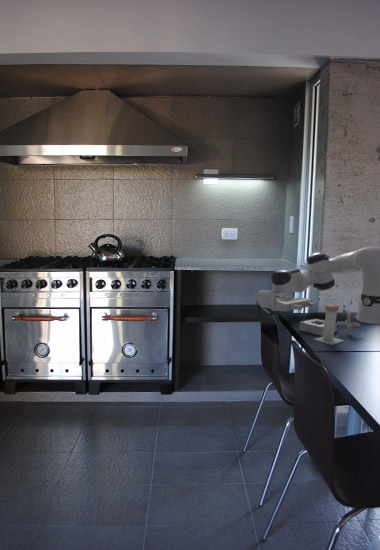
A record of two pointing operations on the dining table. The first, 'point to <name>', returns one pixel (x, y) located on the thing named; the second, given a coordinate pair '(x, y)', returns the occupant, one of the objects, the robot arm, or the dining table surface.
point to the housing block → (314, 326)
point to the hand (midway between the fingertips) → (307, 306)
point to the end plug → (330, 321)
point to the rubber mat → (334, 341)
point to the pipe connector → (348, 324)
